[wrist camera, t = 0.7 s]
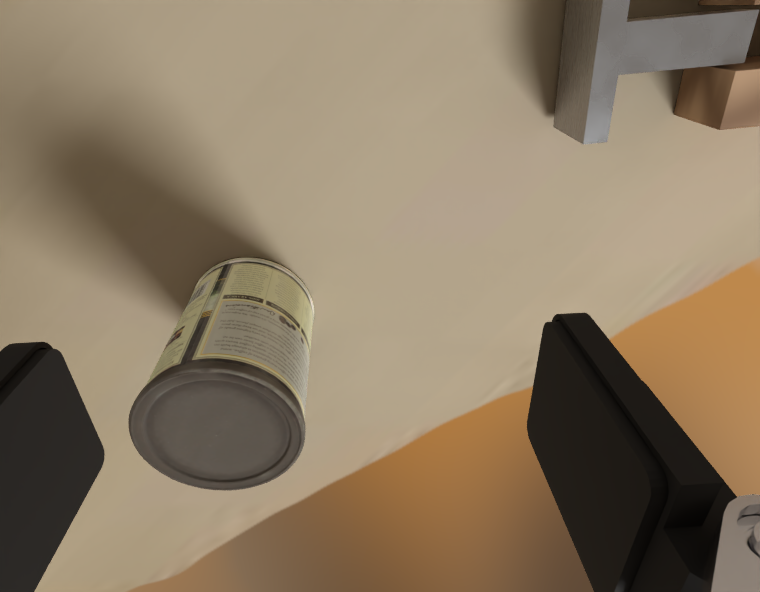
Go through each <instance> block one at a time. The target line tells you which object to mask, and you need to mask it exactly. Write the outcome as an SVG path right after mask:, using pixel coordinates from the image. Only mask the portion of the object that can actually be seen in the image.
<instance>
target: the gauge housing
mask: <svg viewBox="0 0 760 592" xmlns="http://www.w3.org/2000/svg"><path fill="white" fill-rule="evenodd" d="M698 5H760V0H699V4H698ZM674 115H676V116H679V117H682V118H685V119H688V120H691V121H694V122H697V123H700V124H703V125H706V126H709V127H712V128H715V129H718V130H724V129H734V128H745V127H755V126H760V56H750V57H746V59H745V62H744V63H737V64H727V65H716V66H706V67H695V68H685V69H684V71H683V75H682V80H681V84H680V89H679V93H678V97H677V102H676V106H675V111H674Z"/></svg>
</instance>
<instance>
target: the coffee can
mask: <svg viewBox="0 0 760 592" xmlns="http://www.w3.org/2000/svg"><path fill="white" fill-rule="evenodd" d="M313 321H314V305H313V301H312V298H311V295H310V293H309V291H308V289H307V288H306V286H305V284H304V283H303V282H302V281H301V280H300V279H299V278H298V277H297V276H296V275H295V274H294V273H293V272H291V271H290V270H288V269H287V268H285V267H283V266H281V265H279V264H277V263H274V262H272V261H268V260H264V259H261V258H235V259H230V260H227V261H224V262H221V263H219V264H217V265H215V266H213V267H212V268H211V269H209V270H208V271H207V272H206V273H205V274H204V275H203V276H202V277H201V278H200V280H199V281H198V283H197V284H196V286H195V289H194V291H193V294H192V296H191V298H190V300H189V302H188V304H187V306H186V308H185V310H184V312H183V314H182V316H181V318H180V320H179V322H178V324H177V326H176V328H175V330H174V332H173V334H172V336H171V338H170V340H169V341H168V343H167V345H166V347H165V349H164V351H163V353H162V355H161V357H160V359H159V361H158V363H157V365H156V367H155V369H154V371H153V373H152V375H151V377H150V379H149V381H148V383H147V385H146V386H145V387H144V388H143V390H142V391H141V392H140V394H139V395H138V397H137V398H136V400H135V401H134V404H133V406H132V408H131V411H130V414H129V432H130V436H131V439H132V442H133V444H134V446H135V448H136V449H137V451H138V452H139V454H140V455H141V456H142V457H143V459H144V460H146V461H147V462H148V463H149V464H150V465H151V466H152V467H154V468H155V469H156V470H158V471H159V472H161V473H163V474H164V475H166V476H168V477H170V478H171V479H174V480H176V481H178V482H181V483H184V484H187V485H190V486H194V487H198V488H204V489H211V490H239V489H246V488H251V487H255V486H258V485H261V484H264V483H267V482H269V481H271V480H273V479H275V478H277V477H279V476H280V475H281V474H283V473H284V472H286V471H287V470H288V469H289V468H290V467H291V466H292V465H293V464H294V463H295V462H296V460H297V459H298V457H299V455H300V453H301V451H302V448H303V446H304V440H305V421H304V419H305V407H306V395H307V382H308V371H309V360H310V347H311V335H312V325H313Z"/></svg>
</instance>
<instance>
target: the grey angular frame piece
mask: <svg viewBox="0 0 760 592" xmlns="http://www.w3.org/2000/svg"><path fill="white" fill-rule="evenodd" d="M629 4H630V0H566V10H565V19H564V29H563V39H562V48H561V58H560V68H559V78H558V87H557V97H556V107H555V116H554V126H553V127H555V128H556V129H558V130H560V131H561V132H563V133H565V134H567V135H568V136H570V137H572V138H573V139H575V140H577V141H578V142H580V143H582V144H592V143H602V142H607V140H608V134H609V128H610V122H611V116H612V109H613V103H614V97H615V91H616V85H617V78H618V75H622V74H632V73H643V72H653V71H664V70H674V69H685V68H695V67H706V66H716V65H727V64H737V63H744V62H745V59H746V55H747V52H748V48H749V45H750V41H751V37H752V34H753V30H754V27H755V23H756V20H757V16H758V13H759V10H757V9H727V10H717V11H706V12H695V13H685V14H674V15H663V16H653V17H642V18H631V19H627V17H628V10H629Z"/></svg>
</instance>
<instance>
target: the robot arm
mask: <svg viewBox="0 0 760 592" xmlns="http://www.w3.org/2000/svg"><path fill="white" fill-rule="evenodd" d="M527 430H528V436H529V439H530V442H531V444H532V447H533V449H534V451H535V454H536V456H537V459H538V461H539V463H540V465H541V468H542V470H543V472H544V475H545V477H546V480H547V482H548V484H549V487H550V489H551V491H552V494H553V496H554V498H555V501H556V503H557V505H558V508H559V510H560V512H561V515H562V517H563V520H564V522H565V524H566V526H567V528H568V531H569V534H570V536H571V538H572V541H573V543H574V545H575V548H576V550H577V552H578V555H579V557H580V559H581V562H582V564H583V566H584V569H585V571H586V573H587V576H588V578H589V580H590V583H591V585H592V588H593V590H594V592H760V495H754V494H752V495H745V496H739V497H737V496H736V495H735V494H734V493H733V492H732V490H731V489H730V488H729V487H728V485H727V484H726V483H725V482H724V480H723V479H722V478H721V477H720V475H719V474H718V473H717V472H716V470H715V469H714V468H713V467H712V465H711V464H710V463H709V462H708V460H707V459H706V458H705V457H704V455H703V454H702V453H701V452H700V451H699V449H698V448H697V447H696V446H695V444H694V443H693V442H692V441H691V439H690V438H689V437H688V436H687V435H686V433H685V432H684V431H683V429H682V428H681V427H680V426H679V425H678V423H677V422H676V421H675V419H674V418H673V417H672V416H671V415H670V413H669V412H668V411H667V410H666V408H665V407H664V406H663V405H662V403H661V402H660V401H659V400H658V398H657V397H656V396H655V395H654V394H653V392H652V391H651V390H650V388H649V387H648V386H647V385H646V384H645V383H644V382H643V381H642V380H641V379H640V378H639V377H638V376H637V374H636V373H635V372H634V370H633V369H632V368H631V367H630V365H629V364H628V363H627V362H626V360H625V359H624V358H623V357H622V355H621V354H620V353H619V352H618V350H617V349H616V348H615V347H614V345H613V344H612V343H611V342H610V340H609V339H608V338H607V337H606V335H605V334H604V333H603V332H602V330H601V329H600V328H599V327H598V325H597V324H596V323H595V322H594V320H593V319H592V318H591V317H590V316H589V315H588V314H587V313H570V314H557V315H555V316H554V318H553V320H552V322H546V323H545V325H544V328H543V332H542V338H541V344H540V350H539V356H538V362H537V368H536V373H535V379H534V385H533V391H532V397H531V403H530V408H529V414H528V420H527ZM103 462H104V449H103V446H102V443H101V441H100V439H99V437H98V434H97V432H96V430H95V428H94V425H93V423H92V421H91V419H90V416H89V414H88V412H87V410H86V407H85V405H84V403H83V401H82V398H81V396H80V394H79V392H78V389H77V387H76V385H75V383H74V380H73V378H72V376H71V374H70V371H69V369H68V367H67V365H66V362H65V360H64V358H63V356H62V354H61V352H60V351H58V350H57V349H53V348H52V346H51V345H49V344H48V343H45V342H31V343H14V344H9V345H8V346H6V347H5V348H4V349H2V350H1V351H0V592H34V591H35V589H36V587H37V585H38V583H39V582H40V580H41V578H42V576H43V574H44V572H45V571H46V569H47V567H48V565H49V563H50V561H51V560H52V558H53V556H54V554H55V552H56V550H57V549H58V547H59V545H60V543H61V541H62V539H63V538H64V536H65V534H66V532H67V530H68V528H69V527H70V525H71V523H72V521H73V519H74V517H75V516H76V514H77V512H78V510H79V508H80V506H81V505H82V503H83V501H84V499H85V497H86V495H87V493H88V492H89V490H90V488H91V486H92V484H93V482H94V481H95V479H96V477H97V475H98V473H99V471H100V470H101V468H102V465H103Z"/></svg>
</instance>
